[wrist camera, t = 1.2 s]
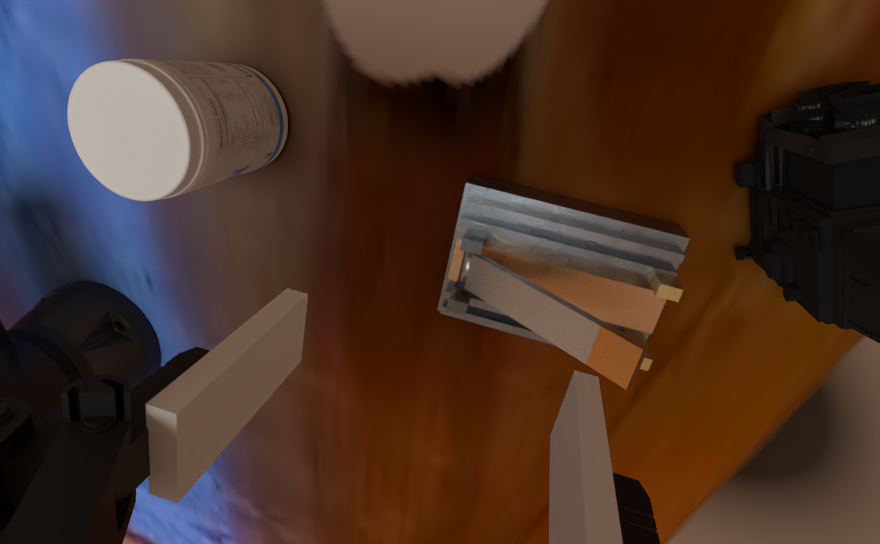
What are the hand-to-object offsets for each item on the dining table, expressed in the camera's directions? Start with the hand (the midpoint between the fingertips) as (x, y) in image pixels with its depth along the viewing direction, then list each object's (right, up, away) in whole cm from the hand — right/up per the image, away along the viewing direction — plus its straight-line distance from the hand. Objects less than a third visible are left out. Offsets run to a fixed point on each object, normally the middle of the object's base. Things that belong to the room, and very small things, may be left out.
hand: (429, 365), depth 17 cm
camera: (+28, +11, +23) cm, 38 cm away
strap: (+8, 0, +20) cm, 21 cm away
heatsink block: (+11, +4, +29) cm, 32 cm away
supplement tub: (-18, +18, +31) cm, 40 cm away
